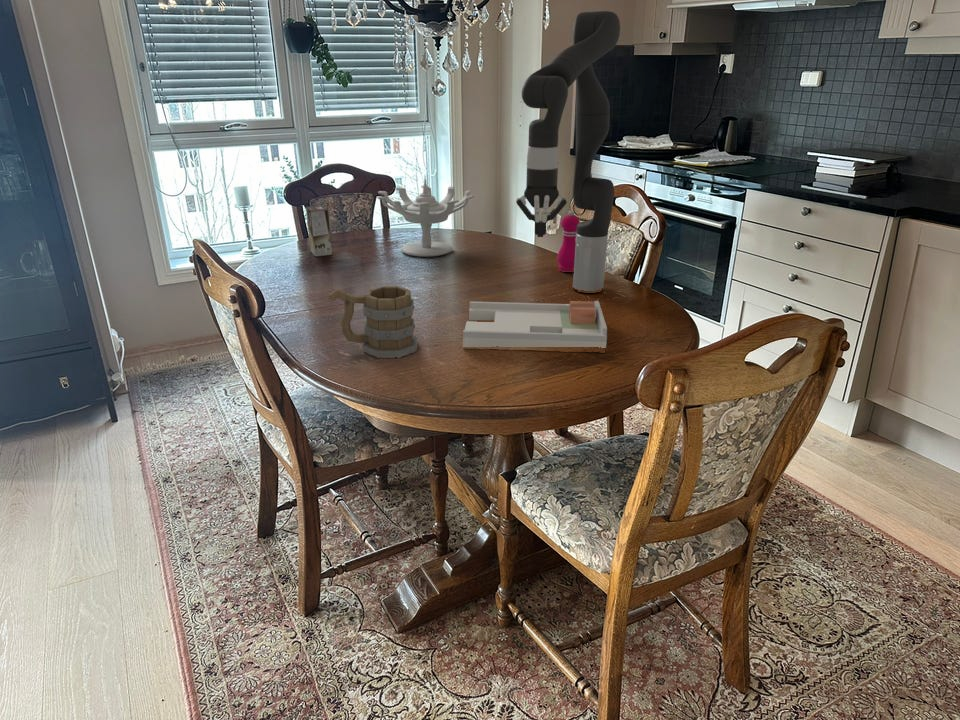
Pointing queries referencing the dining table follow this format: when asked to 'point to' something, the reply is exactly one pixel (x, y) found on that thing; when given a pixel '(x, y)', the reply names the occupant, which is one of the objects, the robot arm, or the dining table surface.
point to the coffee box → (319, 230)
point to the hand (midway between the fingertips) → (540, 236)
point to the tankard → (381, 321)
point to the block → (582, 312)
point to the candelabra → (425, 217)
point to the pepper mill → (568, 242)
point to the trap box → (530, 326)
